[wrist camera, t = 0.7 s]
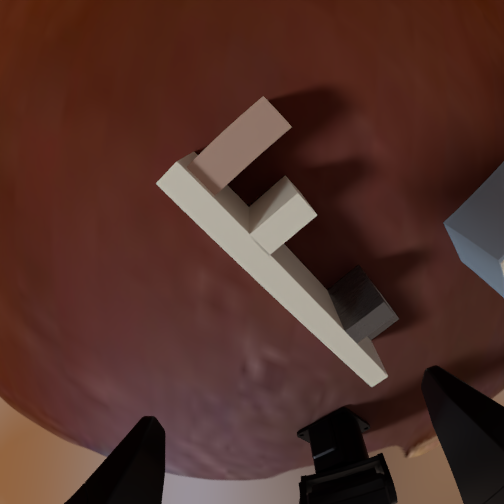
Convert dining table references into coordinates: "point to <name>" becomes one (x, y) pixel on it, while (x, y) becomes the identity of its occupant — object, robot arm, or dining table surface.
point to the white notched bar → (264, 229)
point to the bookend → (361, 306)
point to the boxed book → (482, 230)
